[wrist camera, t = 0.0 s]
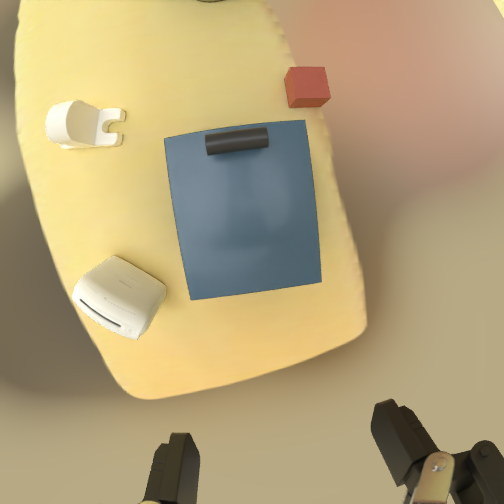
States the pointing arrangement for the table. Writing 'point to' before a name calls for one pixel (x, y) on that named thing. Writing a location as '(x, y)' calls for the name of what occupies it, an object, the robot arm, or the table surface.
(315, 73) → the block
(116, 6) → the table surface
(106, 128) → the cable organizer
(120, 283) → the photo printer
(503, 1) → the table surface
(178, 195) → the freezer lid
